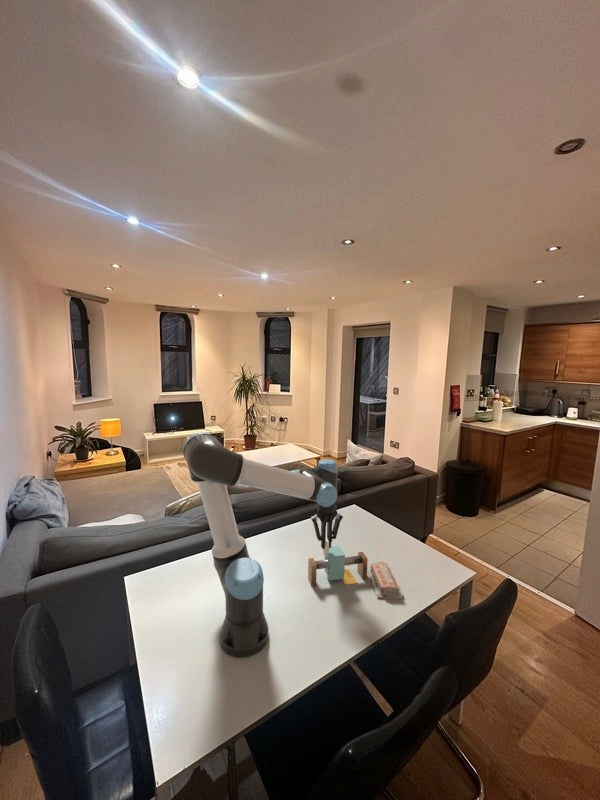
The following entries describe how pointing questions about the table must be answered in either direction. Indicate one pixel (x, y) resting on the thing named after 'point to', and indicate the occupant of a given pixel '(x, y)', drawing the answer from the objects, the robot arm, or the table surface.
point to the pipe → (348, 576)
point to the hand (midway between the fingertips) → (325, 555)
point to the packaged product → (384, 581)
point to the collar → (335, 563)
